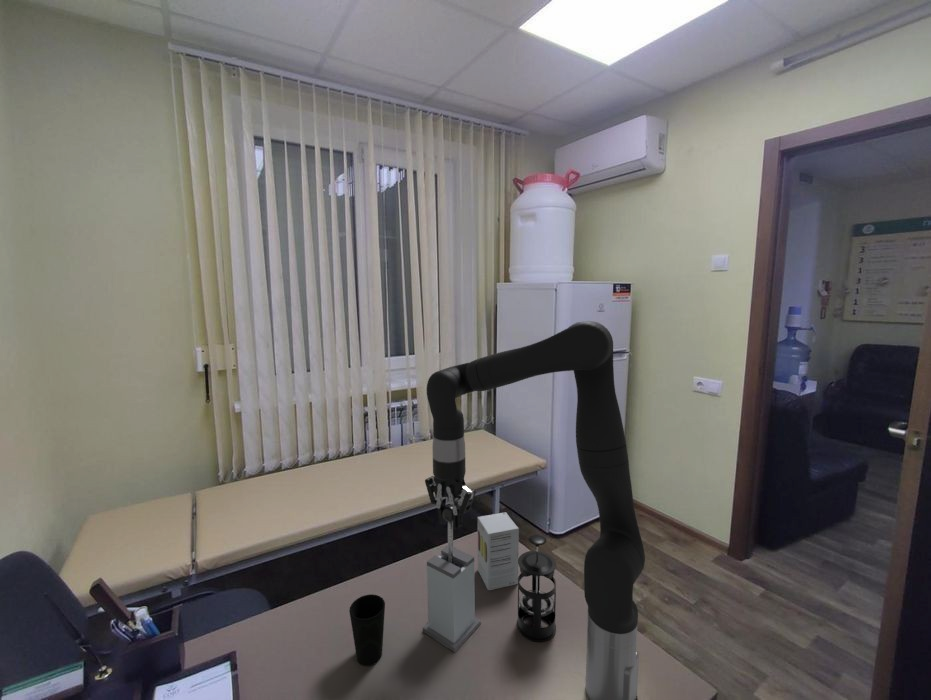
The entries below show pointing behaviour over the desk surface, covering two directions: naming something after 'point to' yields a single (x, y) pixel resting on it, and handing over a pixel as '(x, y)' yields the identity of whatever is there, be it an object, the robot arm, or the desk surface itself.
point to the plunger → (450, 533)
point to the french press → (536, 593)
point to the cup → (368, 628)
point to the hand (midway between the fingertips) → (450, 524)
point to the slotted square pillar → (451, 599)
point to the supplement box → (498, 550)
